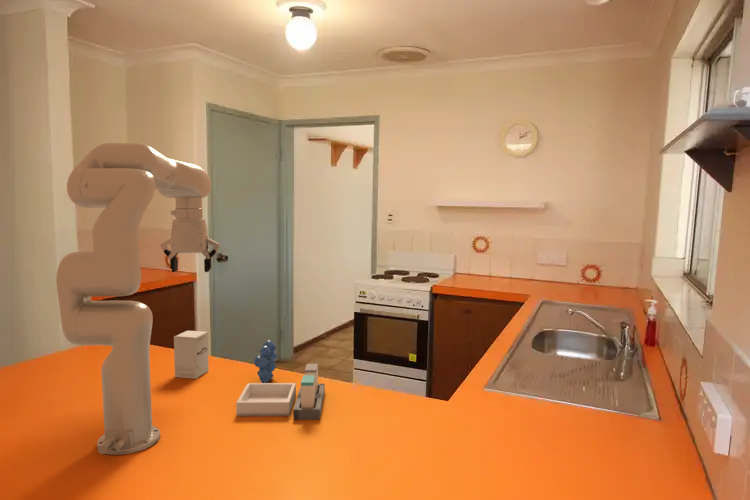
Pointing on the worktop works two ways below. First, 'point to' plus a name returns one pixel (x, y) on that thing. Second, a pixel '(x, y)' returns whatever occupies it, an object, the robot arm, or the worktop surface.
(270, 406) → the tray
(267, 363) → the grapes
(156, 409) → the worktop surface
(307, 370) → the block
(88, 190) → the robot arm
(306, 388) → the block
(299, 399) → the frame
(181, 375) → the supplement box
